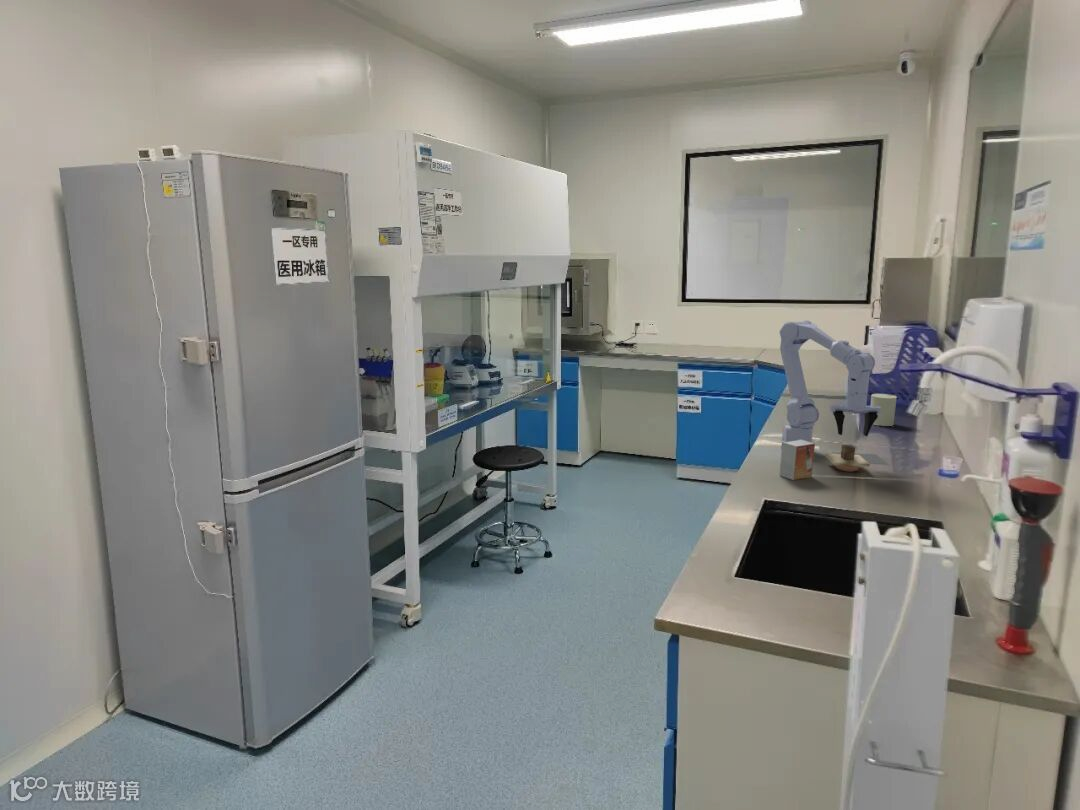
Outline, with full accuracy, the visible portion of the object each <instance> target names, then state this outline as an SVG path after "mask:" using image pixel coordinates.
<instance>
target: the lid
mask: <svg viewBox="0 0 1080 810" xmlns="http://www.w3.org/2000/svg"><path fill="white" fill-rule="evenodd" d="M840 453H841V454H833V453H825V458H827V460H829V461H830V462H831V463H832V464H833V465H834V466H835V465H845V466H859V467H870V465H871V464H869V463H868V462H867V461H866V460H864V459H863V458H862V457H861V456H860V455H854V454H855V453H856V447H855V446H854V445H853V444H841V450H840Z"/></svg>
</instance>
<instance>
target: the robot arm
mask: <svg viewBox="0 0 1080 810" xmlns="http://www.w3.org/2000/svg"><path fill="white" fill-rule="evenodd" d="M779 335H780V346H779V347H780V348H779V350H780V354H781V360H782V365H783V369H784V373H785V378H786V383H787V387H788V393H789V396H790V399H789V401H788V403H787V404H786V410H787V411H786V420H787V422H788V424H789V425H788V424H787V425H784V426H783V427H782V433H781V445H780V448H781V449H782V442H790V441H796V440H804V441H808V442H811V443H813V433H814V427H815V423H817V421H819V418H820V411H819V408H817V405H816V404H815V401H814V400H813V399H812V398H811V396H809V394H808V390H807V386H806V385H807V384H806V381H805V376H804V371H803V367H802V363H801V362H802V361H801V358H800V354H799V353H800V352H799V350H800V348H801V347H802V346H803V345H804V344H805V343H806V342H808V341H809V340H811V341H813V342H815V343H816V344H819V345H820V346H821V347H824V348H826V349H827V350H829V352H830V356H831V357H832V358H834V359H836V360H837V361H839V362H841V363H842V364H844V365H845V367H846V369H847V371H848V382H847V383H848V384H847V392H846V401H845V403H844V404H843V403H842V404H830V412H832V415H833V417H834V420H835V423H836V426H837V434H838V435H839V436H842V435H843V431H844V429H843V428H844V421H845V417H846V415H845V414H844V413H862V414H864V426H863V431H862V432H863V435H864V436H865V437H869V433H870V430H871V428H872V426H874V425H873V423H874V422H875V420H876V419H877V418H878V415H877V414H881V407H879V406H871V405H867V401H868V391H869V382H870V375H871V374H870V373H871V371H872V370H873V369H874V368H875V366H876V361H875V357H874V356H873V355H872V354H871V353H869V352H863V353H862V352H861V351H862V349H858V348H856V347H853V346H852V345H851V344H850V342H849V341H847V340H838V341H837V340H836V339H834V338H832V336H830V335H829V334H828V333H826V332H824V331H823V330H822V329H821V328H819V327H818V325H817V324H815V323H812V322H811V321H809V320H802V321H786V322H785V323H784V324H783V325H782V327H781V329H780V330H779Z"/></svg>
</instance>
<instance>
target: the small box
mask: <svg viewBox="0 0 1080 810" xmlns="http://www.w3.org/2000/svg"><path fill="white" fill-rule="evenodd" d="M781 444H782V448H781V452H780V453H781V454H780V455H781V456H780V462H779V463H780V464H779V476H780V477H783V478H786V479H787V480H792V481H796V480H801V479H808V478H812V477H813V466H814V459H815V458H814V457H815V447H816V444H815V443H814V442H812V443H811V442H808V441H804V440H796V441H790V442H782V441H781Z"/></svg>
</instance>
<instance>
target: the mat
mask: <svg viewBox="0 0 1080 810" xmlns="http://www.w3.org/2000/svg"><path fill="white" fill-rule="evenodd" d="M831 454H841V452H834V451H833V452H831ZM854 455H860V456H861V457H862V458H863V459H864V460H866V461H867V462H868V463H869V464H870V465H889V466H890V464H889V463H888V462H887V461H885V460H884V459H883V458H882V457H880V456H879V455H878V454H877V453H860V452H859V453H856V452H855V454H854Z"/></svg>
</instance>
